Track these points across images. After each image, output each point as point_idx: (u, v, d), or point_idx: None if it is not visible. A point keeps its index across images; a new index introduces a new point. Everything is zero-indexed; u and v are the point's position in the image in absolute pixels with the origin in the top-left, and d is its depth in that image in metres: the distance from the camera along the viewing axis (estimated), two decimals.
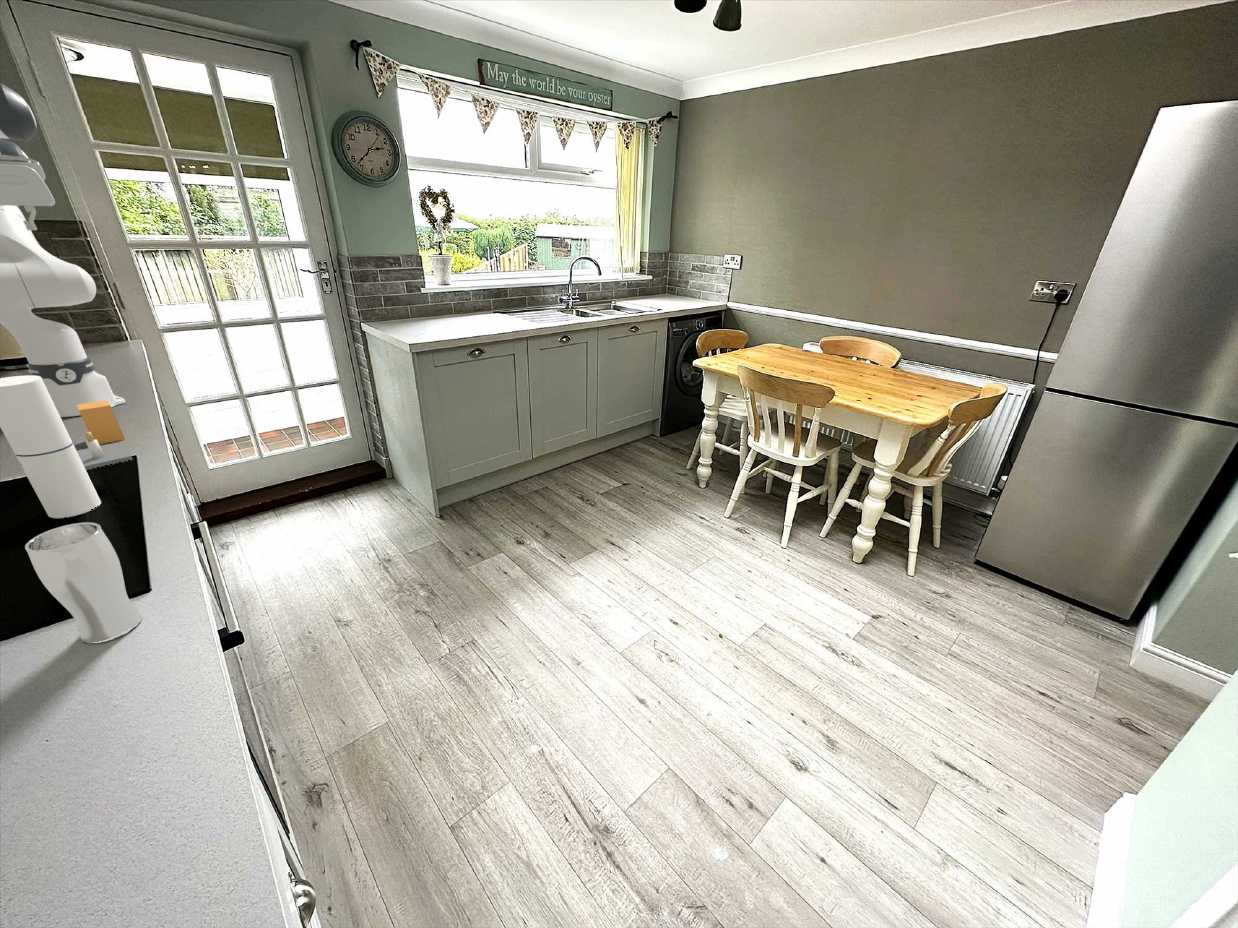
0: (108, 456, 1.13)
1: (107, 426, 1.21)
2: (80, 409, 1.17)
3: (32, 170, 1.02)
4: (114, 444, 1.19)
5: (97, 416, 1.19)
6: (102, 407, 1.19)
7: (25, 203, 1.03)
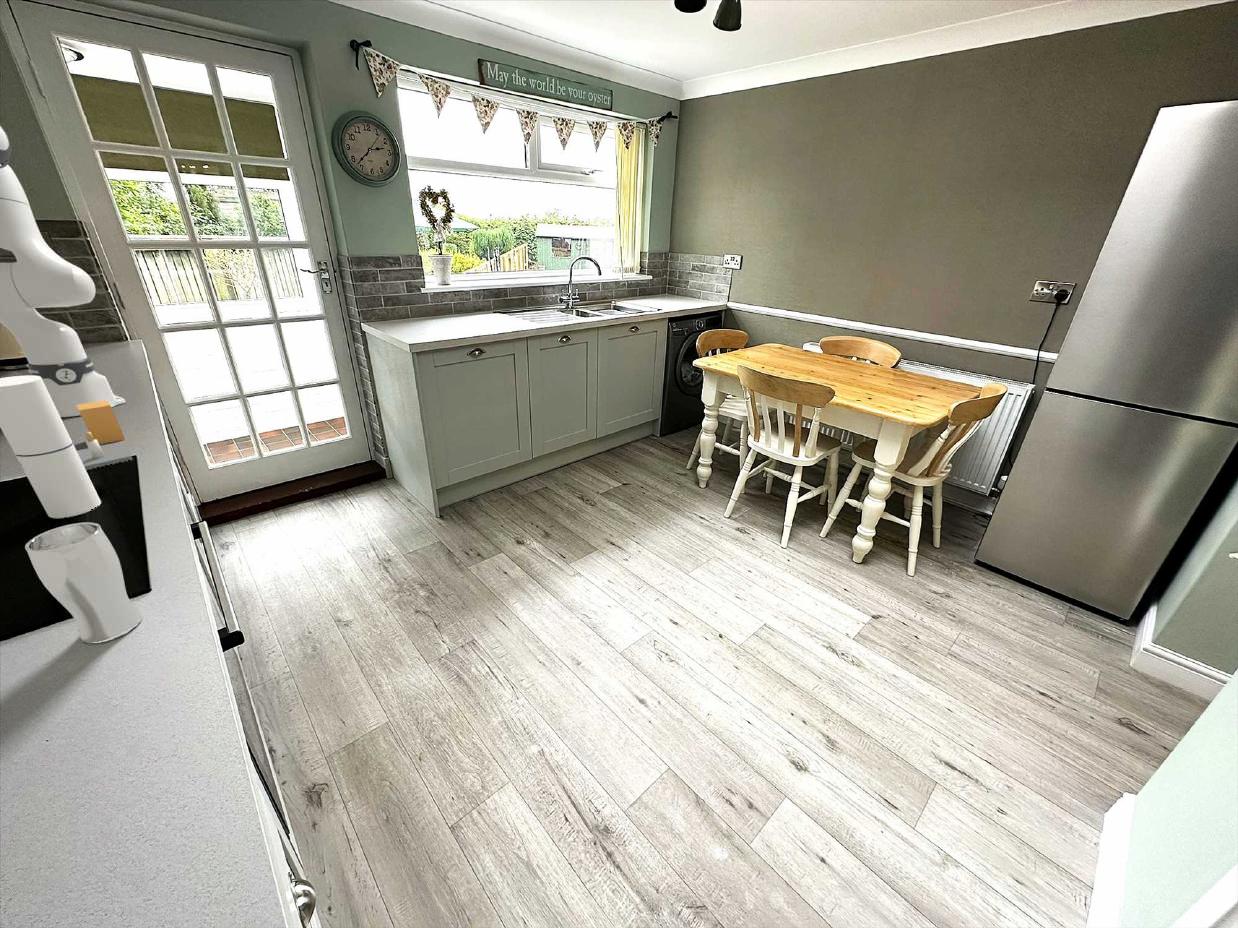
0: (108, 456, 1.13)
1: (107, 426, 1.21)
2: (80, 409, 1.17)
3: None
4: (114, 444, 1.19)
5: (97, 416, 1.19)
6: (102, 407, 1.19)
7: None
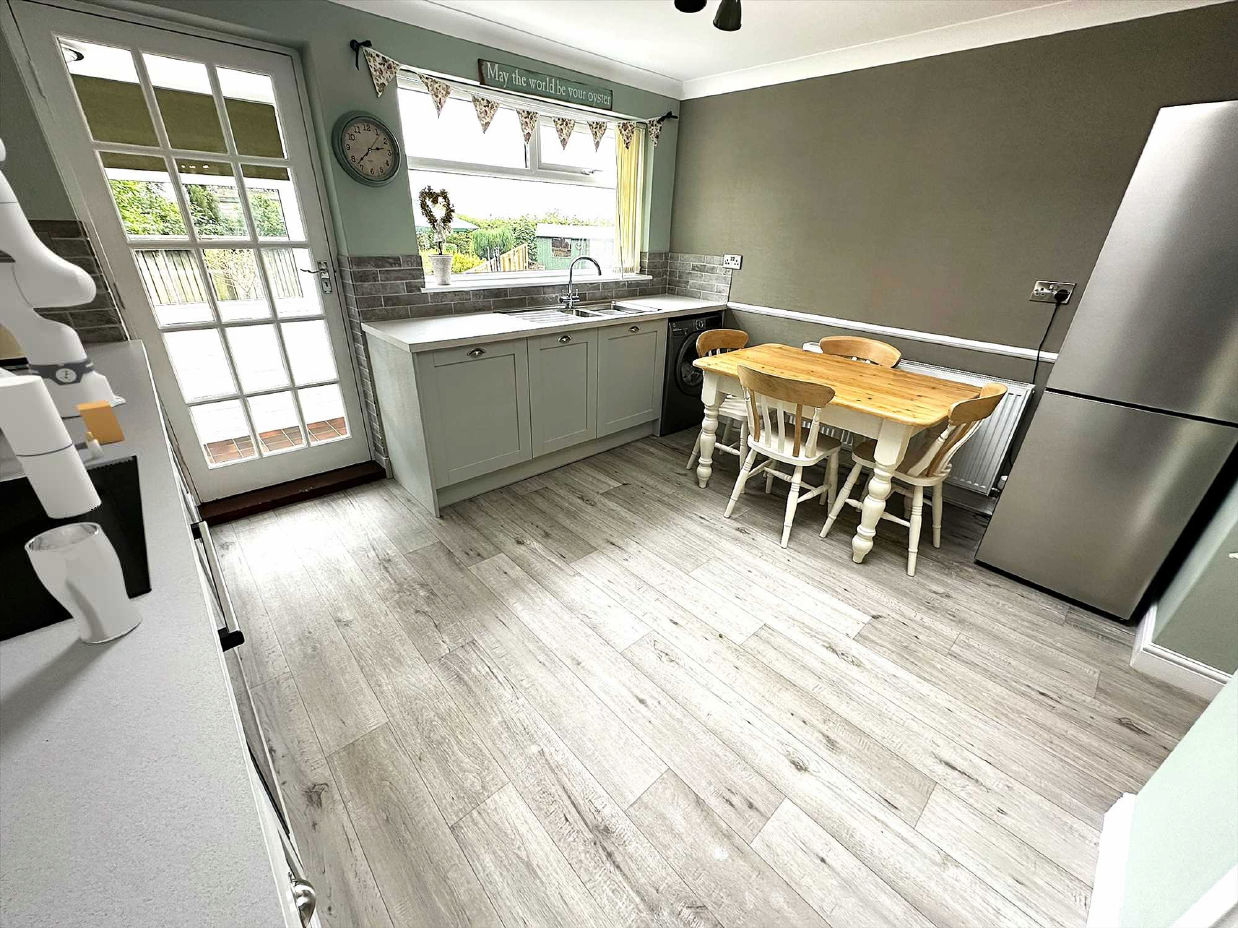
0: (108, 456, 1.13)
1: (107, 426, 1.21)
2: (80, 409, 1.17)
3: None
4: (114, 444, 1.19)
5: (97, 416, 1.19)
6: (102, 407, 1.19)
7: None
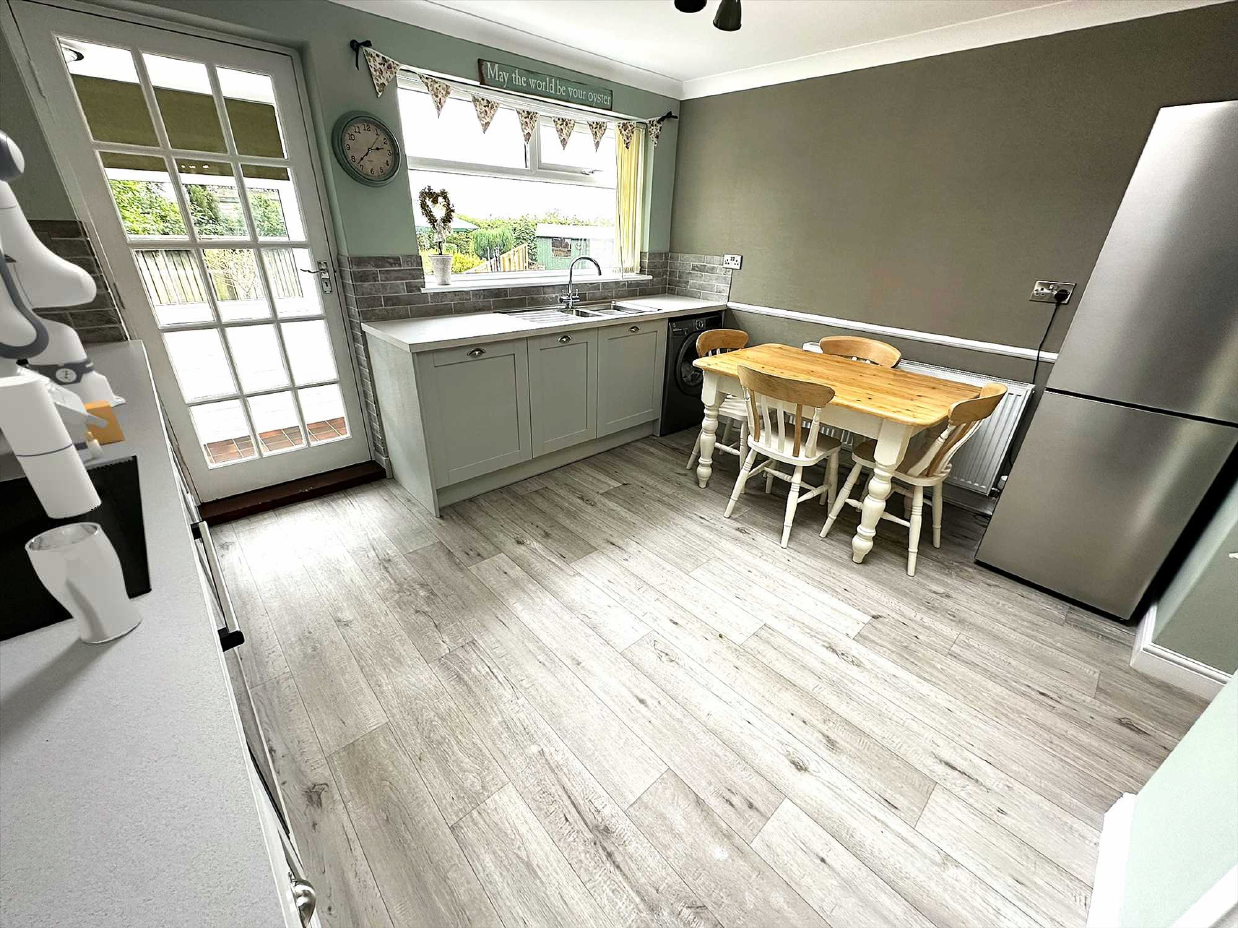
0: (108, 456, 1.13)
1: (107, 426, 1.21)
2: None
3: None
4: (114, 444, 1.19)
5: (97, 416, 1.19)
6: (102, 407, 1.19)
7: None
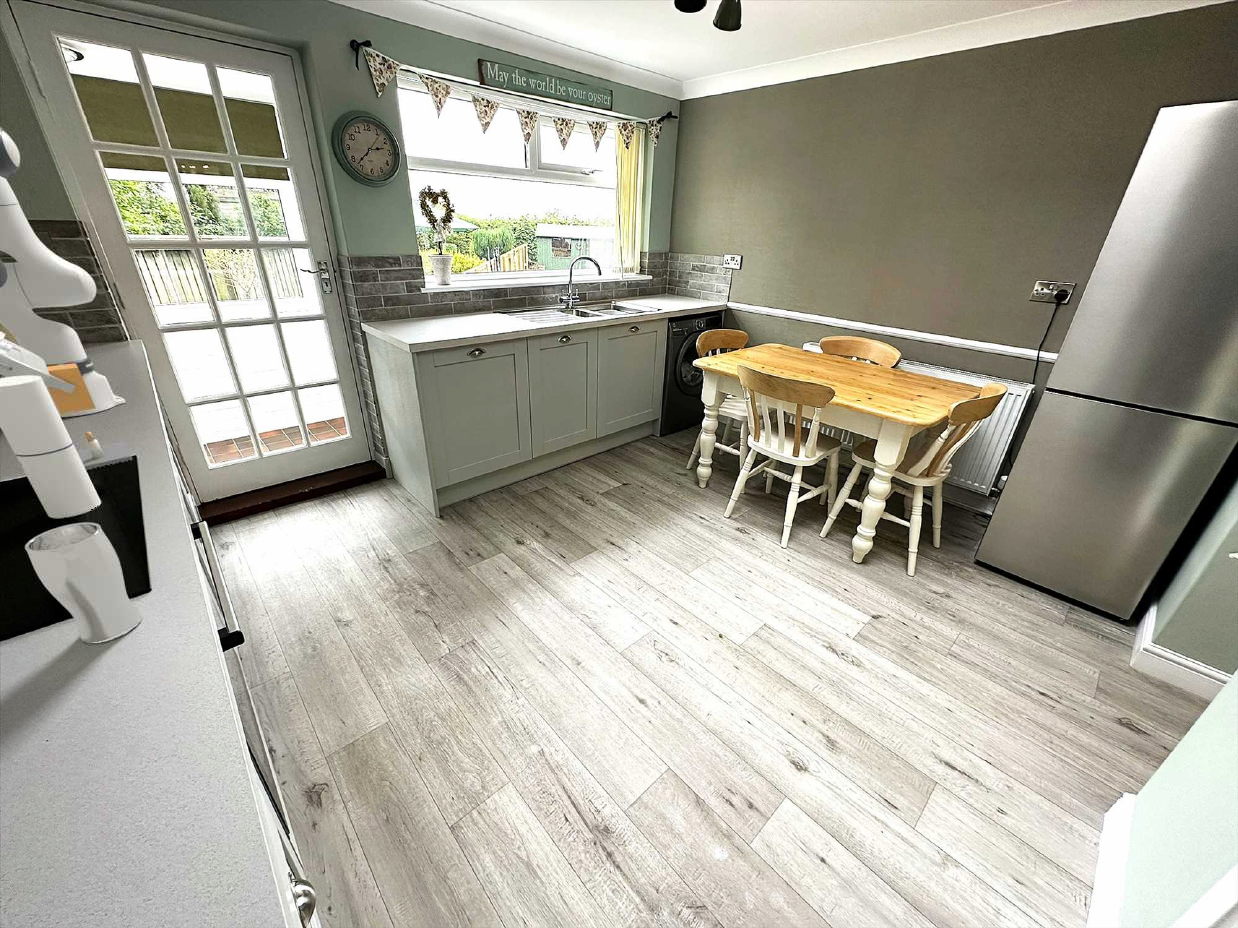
0: (108, 456, 1.13)
1: (74, 392, 1.05)
2: None
3: None
4: (114, 444, 1.19)
5: None
6: (68, 369, 1.03)
7: None
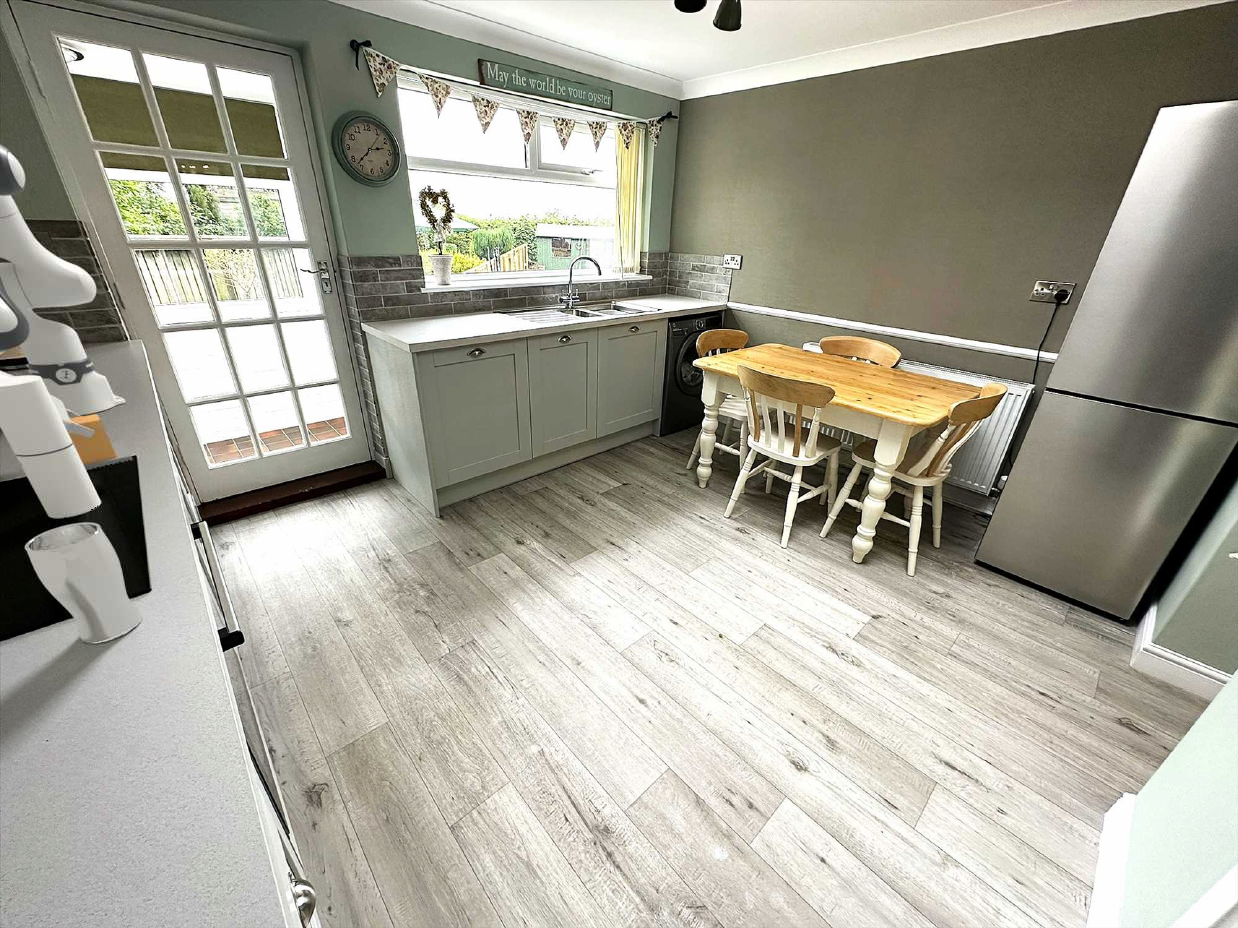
0: None
1: (97, 443, 1.09)
2: None
3: None
4: (114, 444, 1.19)
5: None
6: (91, 422, 1.08)
7: None
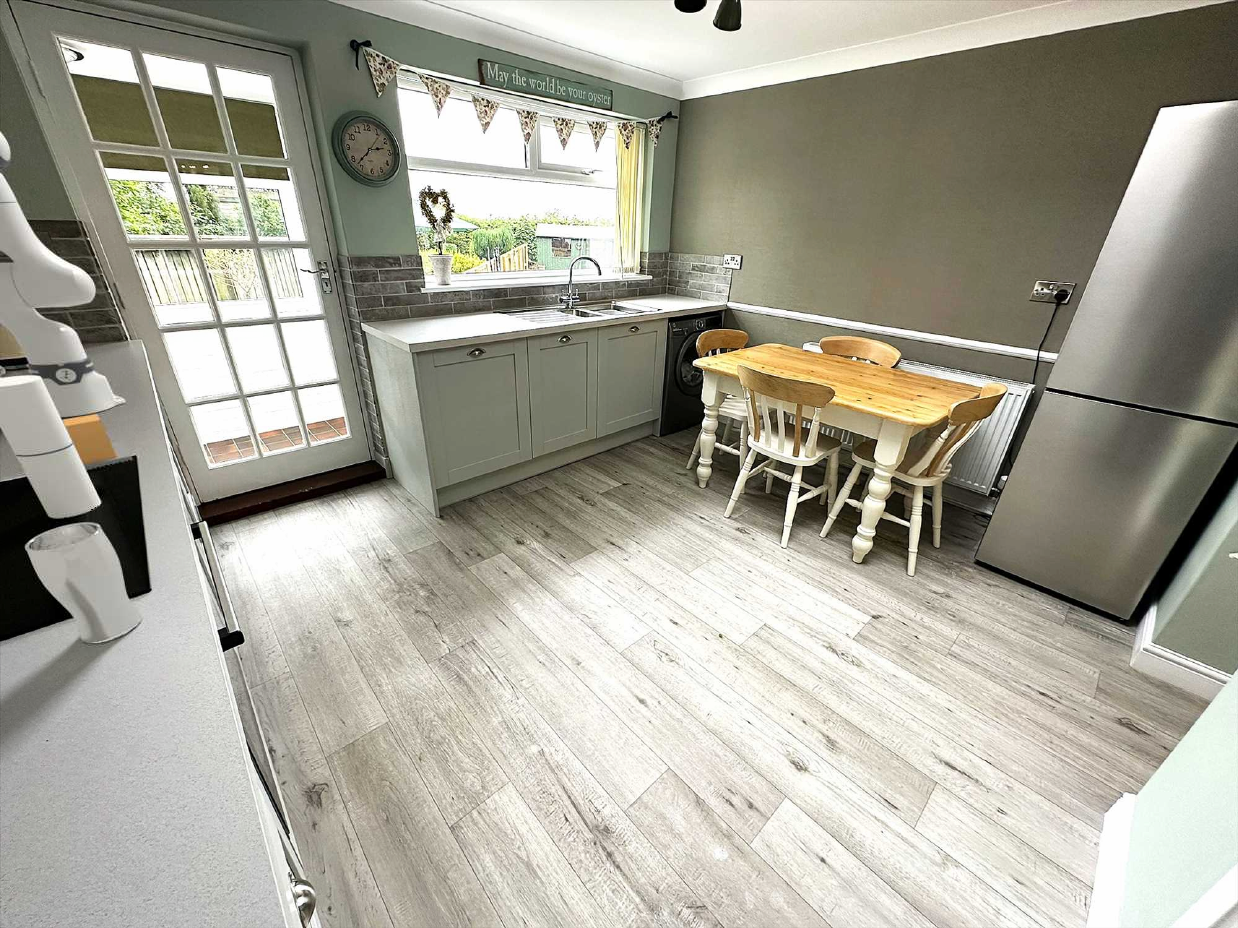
0: None
1: (97, 443, 1.09)
2: (66, 425, 1.05)
3: None
4: (114, 444, 1.19)
5: (86, 432, 1.07)
6: (91, 422, 1.08)
7: None
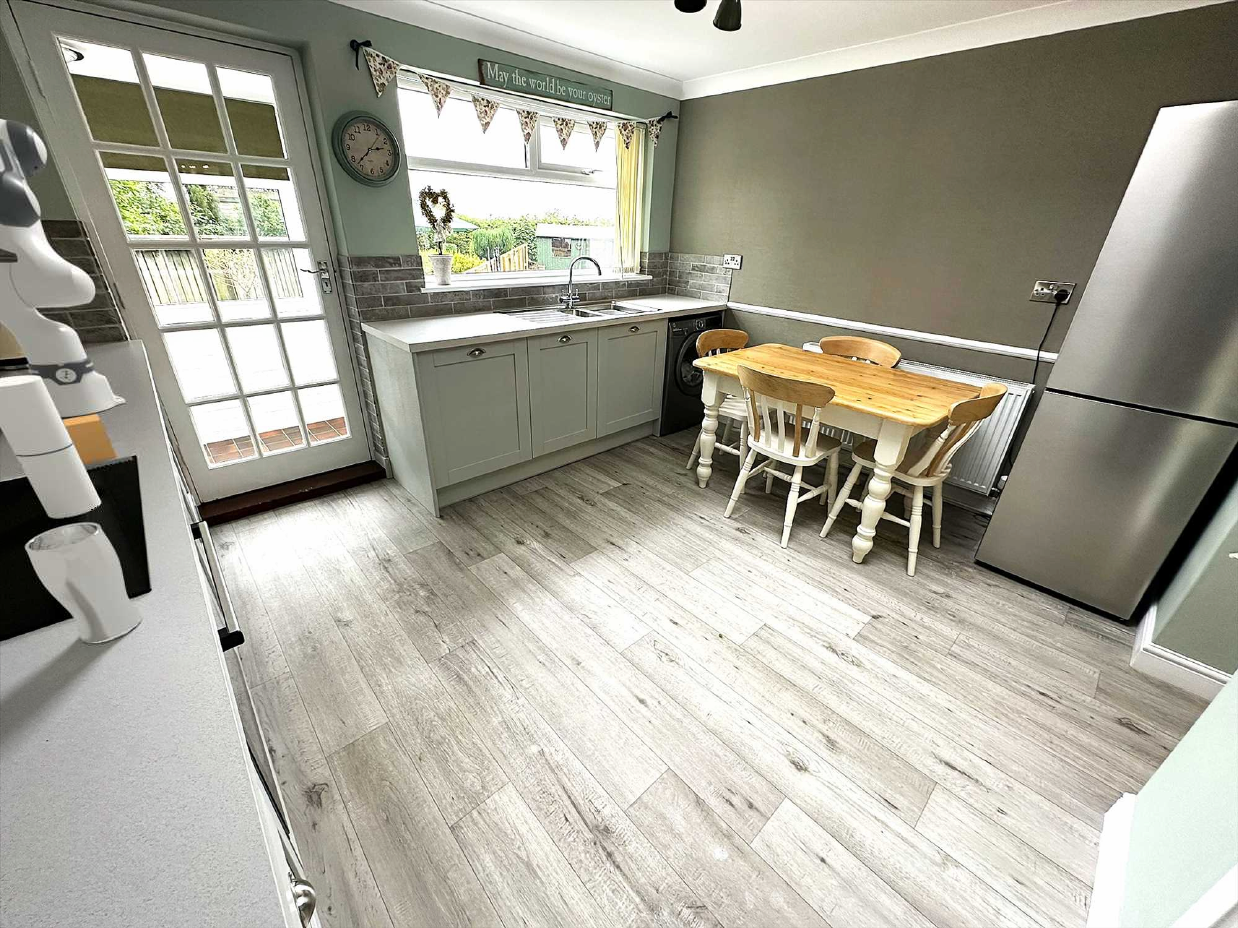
0: None
1: (97, 443, 1.09)
2: (66, 425, 1.05)
3: None
4: (114, 444, 1.19)
5: (86, 432, 1.07)
6: (91, 422, 1.08)
7: None
